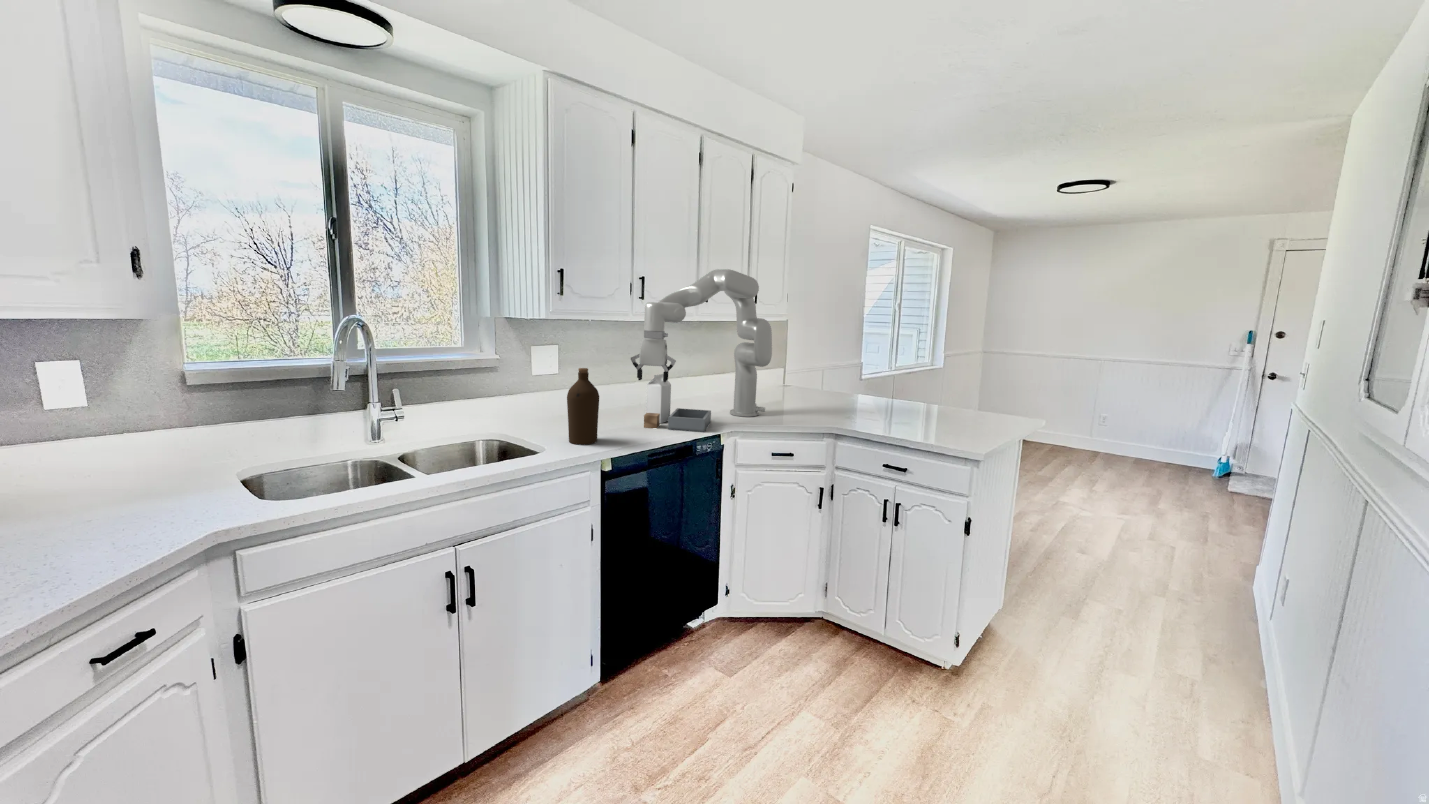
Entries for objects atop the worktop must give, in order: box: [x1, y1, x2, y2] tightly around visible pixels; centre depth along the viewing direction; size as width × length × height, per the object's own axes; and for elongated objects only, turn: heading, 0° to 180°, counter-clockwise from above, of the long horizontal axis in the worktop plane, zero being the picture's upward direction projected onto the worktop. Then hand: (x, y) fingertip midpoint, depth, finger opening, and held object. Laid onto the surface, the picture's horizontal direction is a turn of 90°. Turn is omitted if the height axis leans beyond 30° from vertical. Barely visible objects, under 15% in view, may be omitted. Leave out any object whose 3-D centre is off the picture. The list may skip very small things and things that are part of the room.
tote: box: [667, 407, 712, 433], centre depth 227 cm, size 14×18×5 cm
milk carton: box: [645, 373, 672, 424], centre depth 232 cm, size 7×7×19 cm
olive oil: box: [566, 367, 600, 446], centre depth 194 cm, size 11×11×25 cm
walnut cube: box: [643, 413, 661, 429], centre depth 222 cm, size 5×5×5 cm
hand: (652, 380), depth 220 cm, fingers open, 9 cm apart
